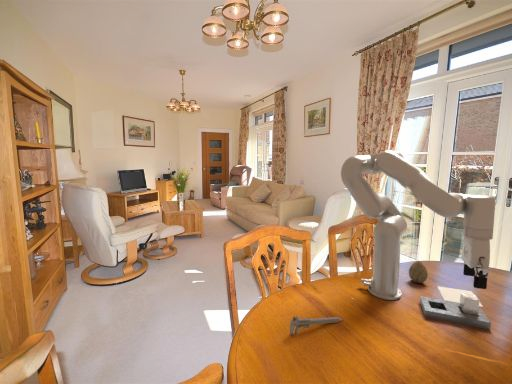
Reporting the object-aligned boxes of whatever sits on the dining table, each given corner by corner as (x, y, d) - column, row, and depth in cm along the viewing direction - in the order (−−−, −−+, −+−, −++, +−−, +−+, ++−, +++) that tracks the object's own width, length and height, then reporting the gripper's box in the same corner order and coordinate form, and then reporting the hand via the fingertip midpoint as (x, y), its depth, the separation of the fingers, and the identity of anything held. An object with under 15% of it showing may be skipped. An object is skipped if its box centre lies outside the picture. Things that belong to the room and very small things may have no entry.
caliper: (291, 337, 83) (291, 318, 82) (289, 334, 84) (289, 316, 83) (342, 321, 91) (343, 304, 90) (340, 319, 92) (341, 302, 91)
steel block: (462, 319, 89) (464, 298, 88) (458, 313, 93) (460, 292, 92) (476, 322, 88) (479, 300, 87) (472, 315, 91) (475, 294, 90)
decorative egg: (430, 286, 113) (432, 264, 112) (414, 286, 113) (415, 264, 112) (420, 278, 120) (421, 257, 119) (404, 278, 120) (406, 258, 119)
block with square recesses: (424, 318, 91) (425, 310, 91) (419, 303, 100) (420, 296, 100) (489, 331, 84) (491, 322, 84) (478, 314, 93) (479, 306, 93)
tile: (444, 301, 101) (444, 300, 101) (436, 287, 112) (437, 286, 112) (483, 308, 97) (483, 306, 97) (471, 292, 108) (471, 291, 107)
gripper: (455, 225, 95) (453, 269, 97) (473, 238, 80) (469, 291, 82) (481, 226, 92) (478, 272, 94) (504, 241, 77) (500, 295, 79)
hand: (474, 281), depth 88 cm, fingers open, 9 cm apart
